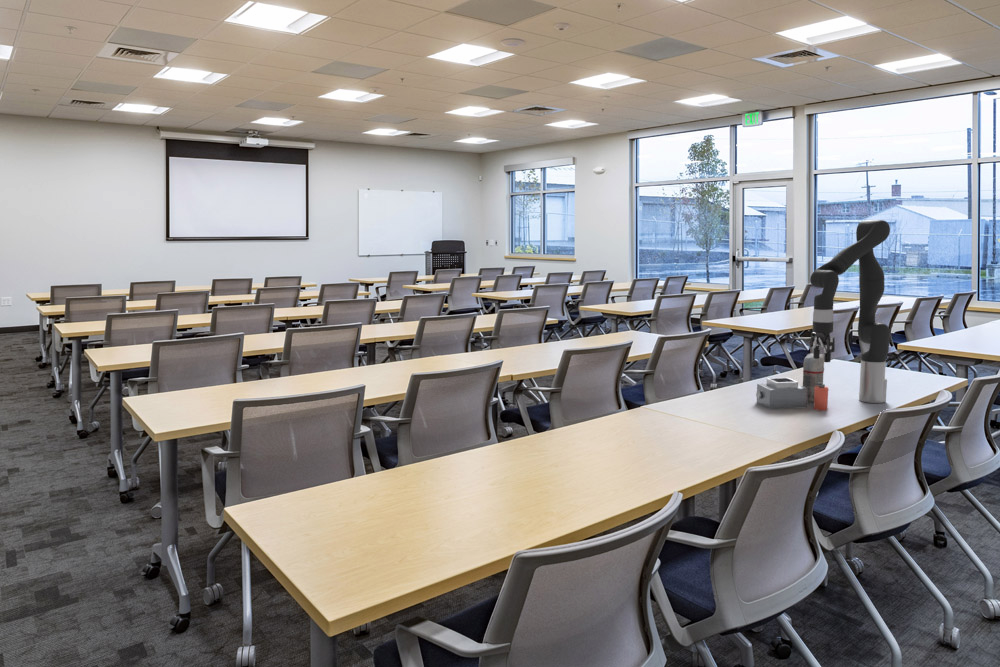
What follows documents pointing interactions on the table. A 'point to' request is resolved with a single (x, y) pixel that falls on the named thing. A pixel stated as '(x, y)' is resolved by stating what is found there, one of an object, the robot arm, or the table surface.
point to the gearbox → (782, 394)
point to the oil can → (820, 397)
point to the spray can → (812, 373)
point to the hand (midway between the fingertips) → (821, 360)
